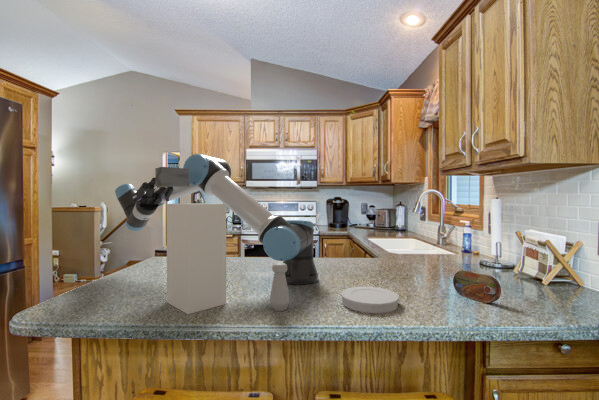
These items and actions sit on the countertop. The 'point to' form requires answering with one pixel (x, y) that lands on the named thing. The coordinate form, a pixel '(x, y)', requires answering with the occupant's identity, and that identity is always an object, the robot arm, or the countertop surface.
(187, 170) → the panel with wooden post
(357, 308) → the lid
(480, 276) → the tin
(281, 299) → the salt shaker
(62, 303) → the countertop surface
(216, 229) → the pedestal
